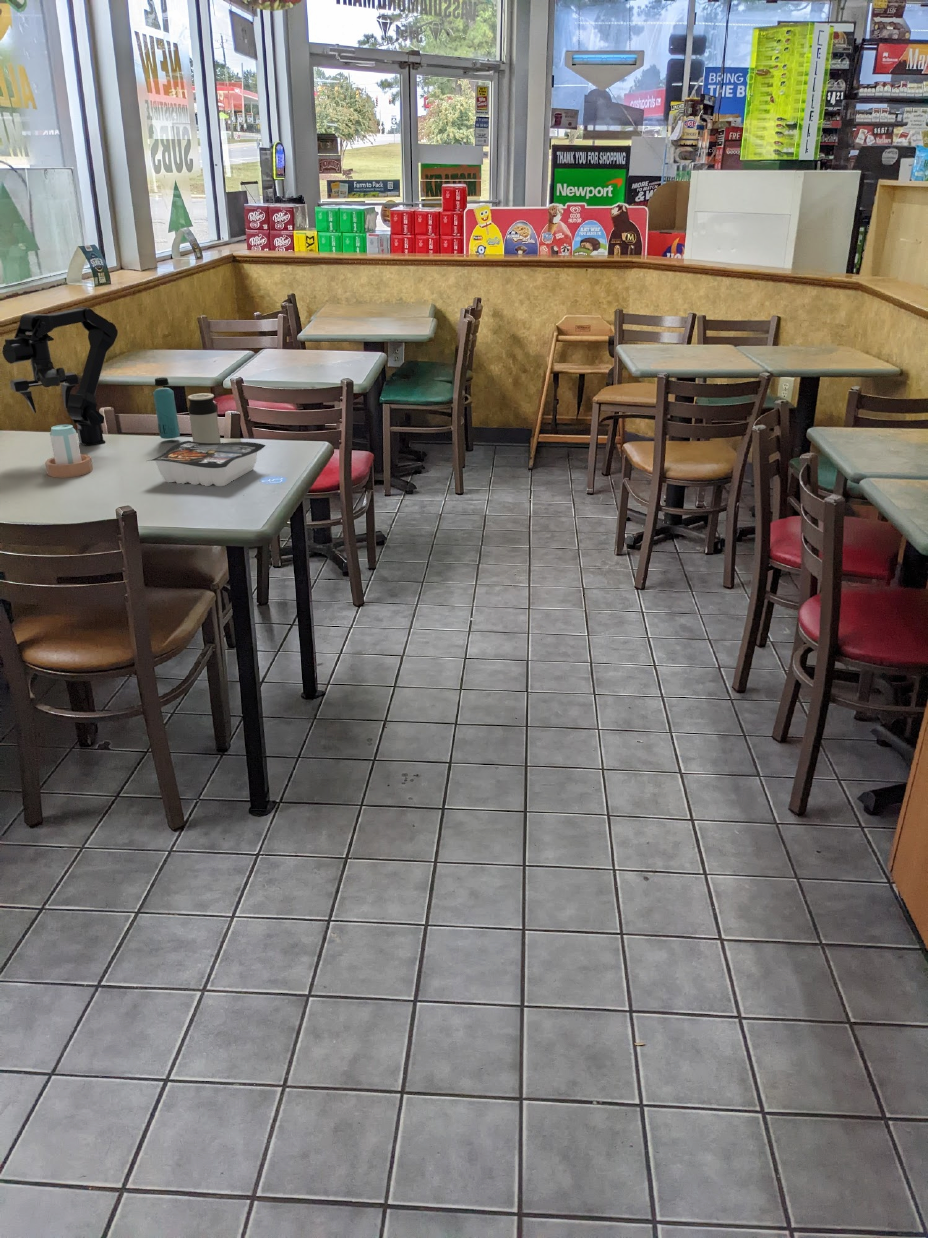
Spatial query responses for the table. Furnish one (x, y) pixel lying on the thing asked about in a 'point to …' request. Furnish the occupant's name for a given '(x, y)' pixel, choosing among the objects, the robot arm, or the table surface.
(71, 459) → the can
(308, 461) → the table surface
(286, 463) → the table surface
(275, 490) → the table surface
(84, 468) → the bowl
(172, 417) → the beverage bottle
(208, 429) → the travel mug
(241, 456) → the food packaging
